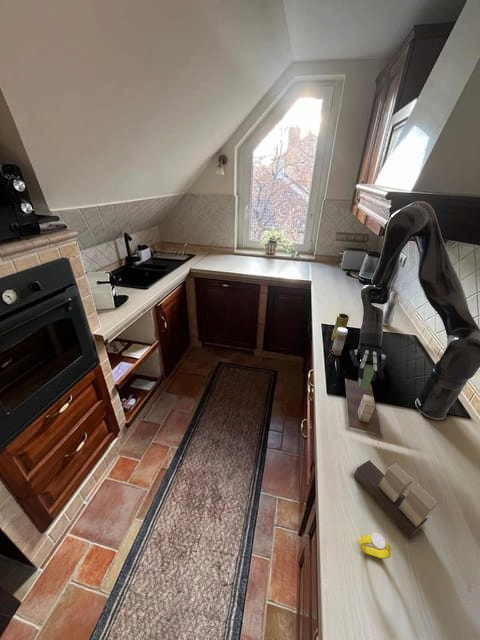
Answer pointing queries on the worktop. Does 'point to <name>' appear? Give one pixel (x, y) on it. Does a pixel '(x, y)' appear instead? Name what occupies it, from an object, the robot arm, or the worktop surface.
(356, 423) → the near board
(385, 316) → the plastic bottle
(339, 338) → the sprinkles bottle
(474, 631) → the worktop surface
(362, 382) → the green flat piece
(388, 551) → the watch
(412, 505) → the stand
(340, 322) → the vase
